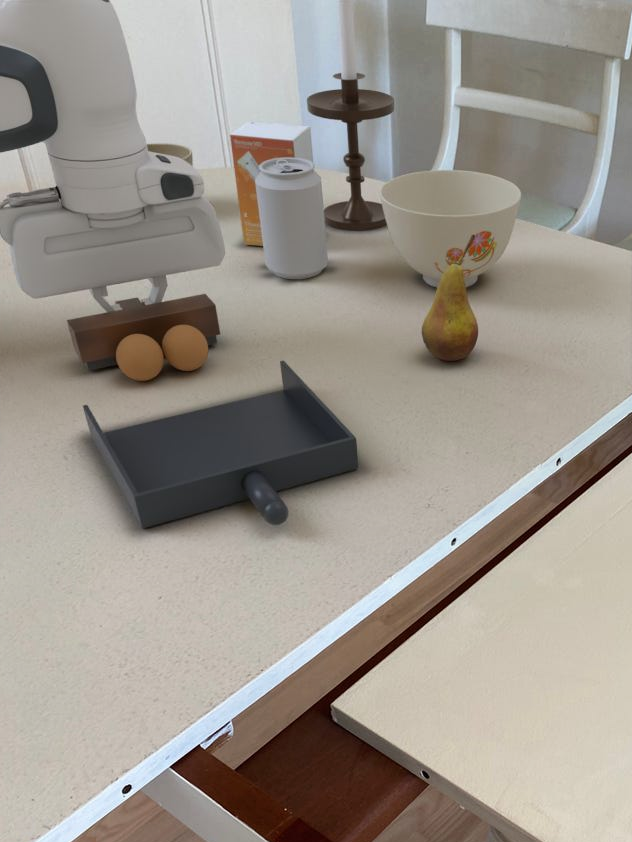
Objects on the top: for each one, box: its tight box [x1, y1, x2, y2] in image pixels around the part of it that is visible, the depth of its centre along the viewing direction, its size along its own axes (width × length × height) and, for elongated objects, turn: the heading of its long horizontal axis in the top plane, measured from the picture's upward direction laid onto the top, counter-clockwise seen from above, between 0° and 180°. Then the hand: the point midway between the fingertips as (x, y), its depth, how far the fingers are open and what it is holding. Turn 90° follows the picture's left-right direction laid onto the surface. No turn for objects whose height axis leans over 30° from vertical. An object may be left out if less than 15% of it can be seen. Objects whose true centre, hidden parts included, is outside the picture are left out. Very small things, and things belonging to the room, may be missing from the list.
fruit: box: [421, 235, 479, 362], centre depth 97 cm, size 6×6×12 cm
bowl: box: [379, 169, 522, 289], centre depth 113 cm, size 16×16×10 cm
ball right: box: [162, 325, 209, 372], centre depth 96 cm, size 4×4×4 cm
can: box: [255, 157, 329, 280], centre depth 113 cm, size 8×8×12 cm
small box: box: [229, 121, 314, 247], centre depth 120 cm, size 8×6×13 cm
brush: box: [66, 293, 221, 371], centre depth 100 cm, size 14×8×4 cm, turn 120°
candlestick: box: [306, 0, 395, 232], centre depth 119 cm, size 11×11×35 cm
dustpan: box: [82, 360, 359, 529], centre depth 83 cm, size 22×19×3 cm
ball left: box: [116, 334, 165, 382], centre depth 95 cm, size 4×4×4 cm
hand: (136, 321), depth 101 cm, fingers closed on brush, 2 cm apart
